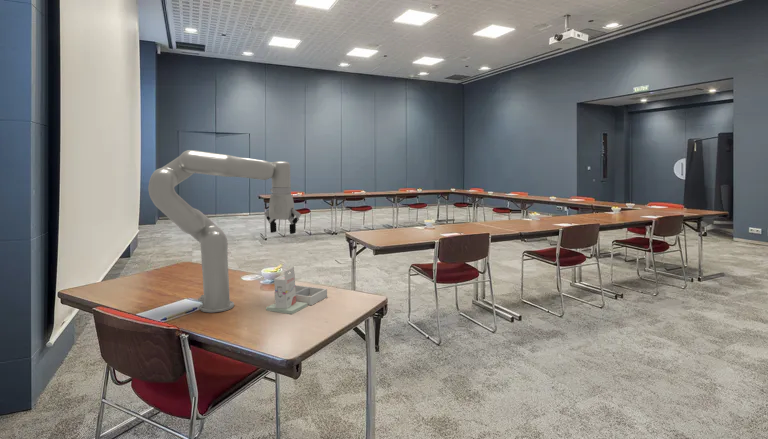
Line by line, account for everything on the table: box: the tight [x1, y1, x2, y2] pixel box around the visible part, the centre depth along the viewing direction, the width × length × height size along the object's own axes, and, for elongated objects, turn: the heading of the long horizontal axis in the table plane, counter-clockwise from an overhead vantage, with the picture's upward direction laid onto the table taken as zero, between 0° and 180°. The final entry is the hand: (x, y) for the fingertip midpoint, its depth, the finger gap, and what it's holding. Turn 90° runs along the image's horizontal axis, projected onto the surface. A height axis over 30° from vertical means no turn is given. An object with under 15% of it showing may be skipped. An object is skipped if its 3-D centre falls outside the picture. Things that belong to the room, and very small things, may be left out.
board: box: [265, 302, 308, 315], centre depth 171 cm, size 12×10×1 cm
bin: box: [295, 284, 328, 306], centre depth 183 cm, size 18×13×4 cm
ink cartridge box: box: [273, 267, 296, 309], centre depth 169 cm, size 9×5×15 cm, turn 166°
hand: (283, 232), depth 179 cm, fingers open, 9 cm apart
